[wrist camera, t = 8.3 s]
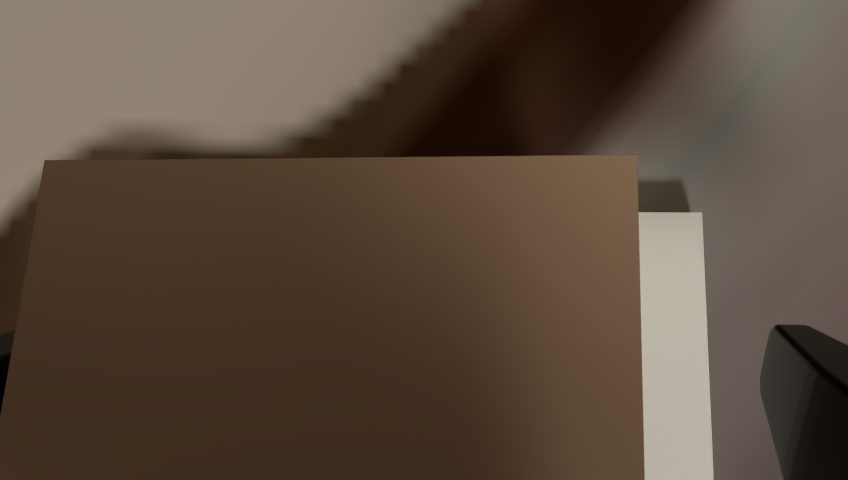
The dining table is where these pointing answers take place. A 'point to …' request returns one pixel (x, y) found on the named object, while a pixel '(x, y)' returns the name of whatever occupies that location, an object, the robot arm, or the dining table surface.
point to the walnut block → (330, 321)
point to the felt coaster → (674, 347)
